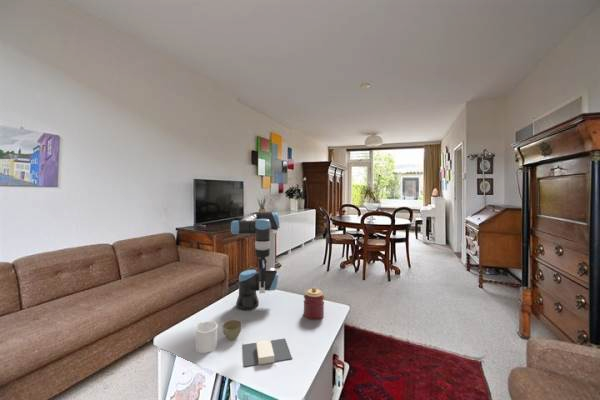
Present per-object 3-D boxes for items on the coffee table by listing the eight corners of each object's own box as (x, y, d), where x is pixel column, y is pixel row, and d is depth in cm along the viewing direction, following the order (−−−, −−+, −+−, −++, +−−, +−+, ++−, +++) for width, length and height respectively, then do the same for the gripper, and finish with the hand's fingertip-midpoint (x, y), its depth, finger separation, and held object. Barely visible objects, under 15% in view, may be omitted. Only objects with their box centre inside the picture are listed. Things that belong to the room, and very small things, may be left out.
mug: (221, 346, 122) (221, 326, 122) (202, 356, 114) (202, 335, 114) (207, 336, 130) (207, 317, 130) (189, 345, 122) (189, 325, 122)
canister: (301, 318, 150) (302, 290, 150) (305, 309, 163) (305, 282, 162) (322, 321, 148) (323, 292, 147) (324, 311, 161) (325, 284, 160)
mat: (242, 345, 123) (242, 344, 123) (285, 339, 129) (285, 338, 129) (243, 367, 108) (243, 366, 108) (292, 359, 114) (292, 358, 114)
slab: (256, 342, 121) (258, 358, 109) (270, 340, 122) (274, 355, 111) (256, 348, 121) (258, 364, 109) (270, 346, 122) (274, 362, 111)
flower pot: (219, 336, 130) (219, 323, 130) (236, 330, 137) (236, 317, 136) (227, 346, 123) (227, 332, 122) (245, 338, 129) (245, 325, 129)
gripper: (254, 246, 134) (253, 288, 134) (256, 251, 121) (255, 298, 122) (267, 245, 136) (267, 287, 136) (271, 251, 123) (270, 297, 124)
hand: (261, 292), depth 129 cm, fingers closed
